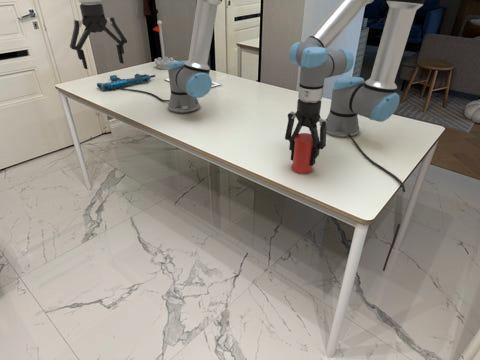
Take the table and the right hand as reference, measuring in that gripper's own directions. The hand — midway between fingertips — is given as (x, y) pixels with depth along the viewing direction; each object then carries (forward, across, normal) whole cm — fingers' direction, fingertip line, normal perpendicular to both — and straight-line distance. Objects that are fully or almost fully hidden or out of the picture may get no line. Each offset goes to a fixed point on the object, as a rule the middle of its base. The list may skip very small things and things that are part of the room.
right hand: (302, 161), depth 121 cm
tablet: (+3, -101, +56) cm, 115 cm away
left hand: (-27, -77, -19) cm, 84 cm away
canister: (+3, 0, 0) cm, 3 cm away
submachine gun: (+3, -135, +33) cm, 139 cm away
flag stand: (+3, -140, +72) cm, 157 cm away
